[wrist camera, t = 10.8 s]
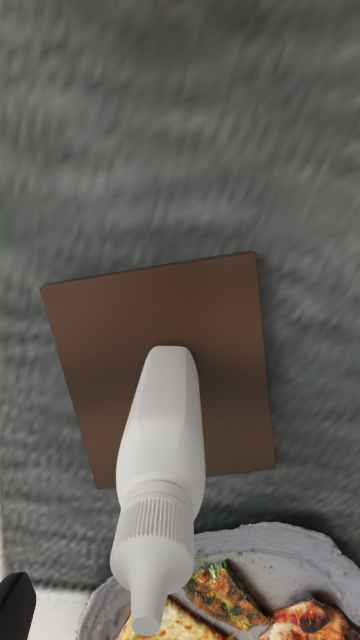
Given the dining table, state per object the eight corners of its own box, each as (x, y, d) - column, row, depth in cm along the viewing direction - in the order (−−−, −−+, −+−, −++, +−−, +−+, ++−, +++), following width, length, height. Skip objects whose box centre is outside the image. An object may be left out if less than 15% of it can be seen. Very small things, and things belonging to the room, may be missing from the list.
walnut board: (271, 456, 22) (276, 469, 21) (101, 476, 23) (96, 490, 22) (251, 250, 18) (256, 252, 17) (47, 283, 19) (38, 286, 18)
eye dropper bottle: (116, 405, 20) (17, 659, 8) (161, 330, 18) (117, 510, 7) (178, 436, 20) (167, 716, 9) (225, 366, 19) (288, 588, 7)
